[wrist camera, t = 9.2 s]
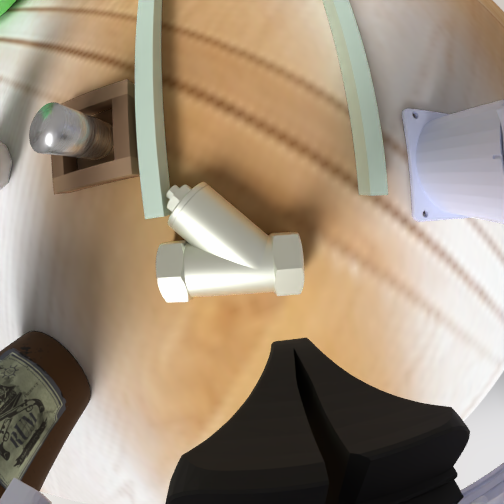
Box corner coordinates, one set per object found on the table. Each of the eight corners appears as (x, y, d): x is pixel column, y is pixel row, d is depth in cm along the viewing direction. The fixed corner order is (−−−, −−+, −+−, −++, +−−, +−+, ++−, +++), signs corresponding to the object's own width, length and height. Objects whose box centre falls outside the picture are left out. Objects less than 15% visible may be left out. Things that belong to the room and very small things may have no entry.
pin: (114, 117, 16) (65, 95, 10) (116, 154, 17) (65, 144, 11) (82, 127, 16) (30, 112, 10) (83, 163, 17) (29, 159, 11)
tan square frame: (137, 87, 16) (127, 78, 14) (142, 175, 17) (131, 173, 15) (65, 112, 16) (51, 108, 14) (68, 193, 17) (54, 194, 15)
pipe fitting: (167, 189, 18) (177, 289, 19) (145, 184, 14) (159, 307, 15) (289, 178, 18) (295, 281, 19) (298, 169, 14) (306, 298, 15)
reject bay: (315, -53, 12) (319, -66, 10) (375, 193, 17) (388, 194, 15) (151, -38, 13) (145, -50, 11) (156, 215, 18) (145, 219, 16)
